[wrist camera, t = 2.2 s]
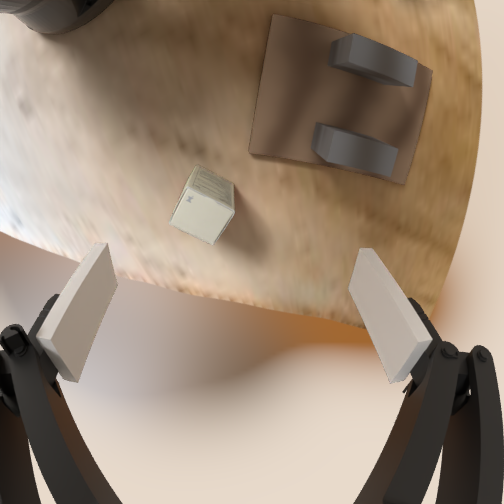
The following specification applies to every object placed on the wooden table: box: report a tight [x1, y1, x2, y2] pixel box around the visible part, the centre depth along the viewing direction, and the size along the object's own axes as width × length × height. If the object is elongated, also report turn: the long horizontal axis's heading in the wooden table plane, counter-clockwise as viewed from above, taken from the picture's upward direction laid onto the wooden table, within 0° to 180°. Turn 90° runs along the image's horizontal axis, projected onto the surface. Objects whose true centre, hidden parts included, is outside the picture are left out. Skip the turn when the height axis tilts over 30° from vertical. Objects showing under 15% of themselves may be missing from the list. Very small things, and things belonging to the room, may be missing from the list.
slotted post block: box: [248, 14, 433, 185], centre depth 24 cm, size 20×16×7 cm
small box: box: [169, 165, 235, 245], centre depth 29 cm, size 5×4×8 cm
